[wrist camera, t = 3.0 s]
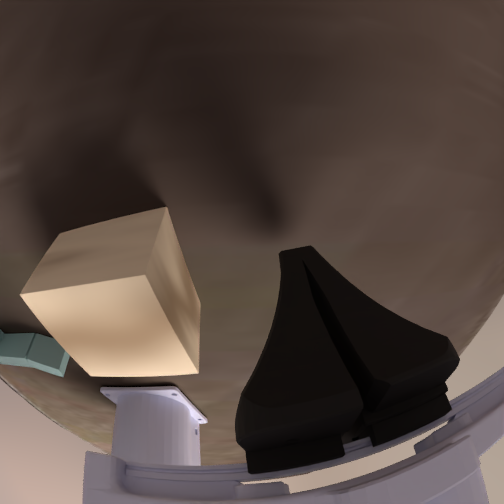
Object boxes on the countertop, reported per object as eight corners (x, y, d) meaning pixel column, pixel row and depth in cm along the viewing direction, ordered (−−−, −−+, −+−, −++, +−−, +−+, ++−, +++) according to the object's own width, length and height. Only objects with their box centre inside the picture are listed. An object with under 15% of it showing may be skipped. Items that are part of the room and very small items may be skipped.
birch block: (200, 301, 15) (198, 373, 11) (108, 313, 15) (91, 376, 11) (167, 204, 11) (145, 274, 8) (61, 231, 11) (19, 294, 8)
